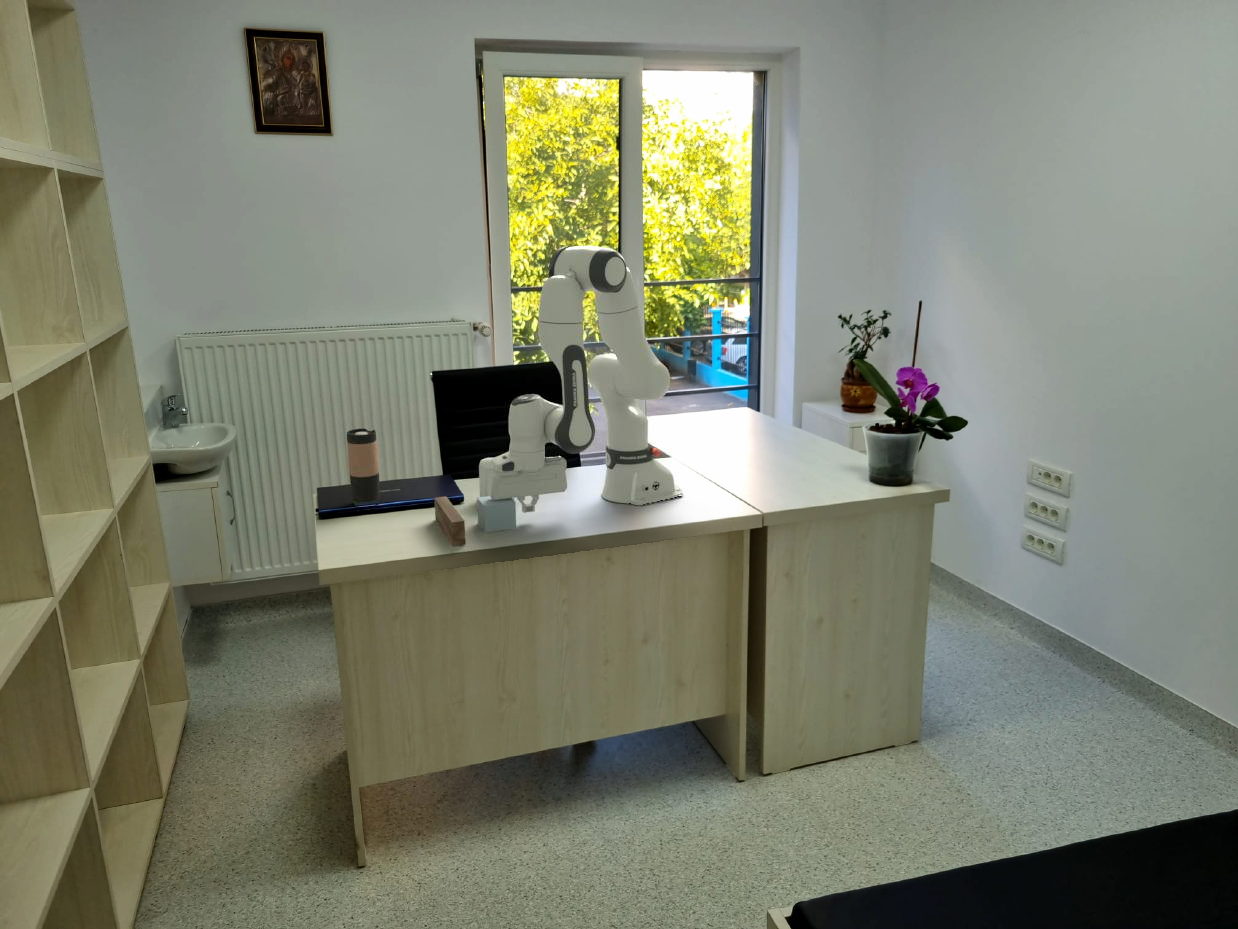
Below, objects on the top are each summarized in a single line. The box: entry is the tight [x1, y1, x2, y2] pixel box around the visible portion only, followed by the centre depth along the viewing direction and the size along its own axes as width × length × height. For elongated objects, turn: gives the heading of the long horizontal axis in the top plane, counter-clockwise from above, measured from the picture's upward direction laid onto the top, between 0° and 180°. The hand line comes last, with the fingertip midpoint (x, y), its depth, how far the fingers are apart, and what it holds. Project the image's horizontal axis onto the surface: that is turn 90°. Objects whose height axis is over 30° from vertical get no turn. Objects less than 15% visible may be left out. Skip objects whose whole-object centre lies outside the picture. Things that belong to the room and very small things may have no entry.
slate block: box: [476, 496, 517, 533], centre depth 236 cm, size 8×7×7 cm
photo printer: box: [478, 457, 515, 501], centre depth 254 cm, size 10×4×12 cm, turn 56°
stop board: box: [433, 496, 467, 547], centre depth 232 cm, size 3×20×6 cm, turn 23°
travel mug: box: [346, 428, 381, 502], centre depth 251 cm, size 8×8×20 cm
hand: (528, 511), depth 240 cm, fingers closed
